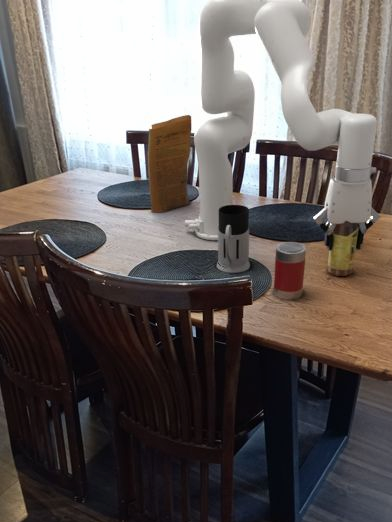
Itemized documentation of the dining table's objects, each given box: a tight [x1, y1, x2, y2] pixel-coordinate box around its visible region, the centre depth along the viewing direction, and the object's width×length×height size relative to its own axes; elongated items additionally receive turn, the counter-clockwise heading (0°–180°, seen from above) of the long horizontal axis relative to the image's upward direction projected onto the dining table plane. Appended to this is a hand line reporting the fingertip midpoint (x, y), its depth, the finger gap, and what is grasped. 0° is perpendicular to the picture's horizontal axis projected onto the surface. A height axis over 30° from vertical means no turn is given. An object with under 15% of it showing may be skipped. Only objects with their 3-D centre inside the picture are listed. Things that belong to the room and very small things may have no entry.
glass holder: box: [216, 204, 251, 274], centre depth 132 cm, size 9×14×15 cm, turn 167°
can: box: [273, 241, 307, 301], centre depth 122 cm, size 7×7×12 cm
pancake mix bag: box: [147, 114, 192, 213], centre depth 171 cm, size 7×19×28 cm, turn 131°
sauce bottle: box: [327, 221, 359, 277], centre depth 128 cm, size 7×6×20 cm
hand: (342, 247), depth 130 cm, fingers closed on sauce bottle, 6 cm apart
